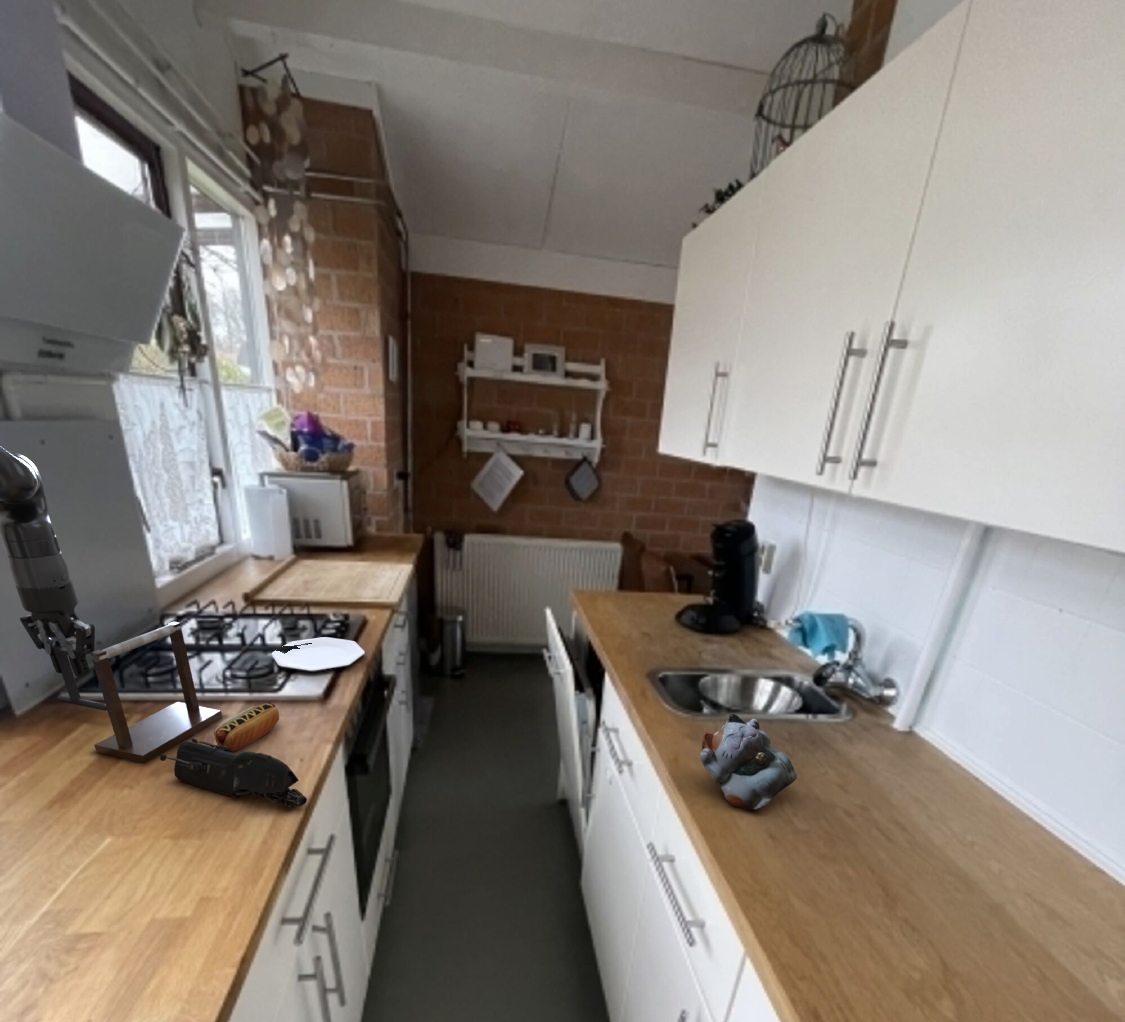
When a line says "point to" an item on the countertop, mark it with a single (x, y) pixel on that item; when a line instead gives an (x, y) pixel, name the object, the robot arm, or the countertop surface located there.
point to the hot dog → (247, 726)
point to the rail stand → (162, 726)
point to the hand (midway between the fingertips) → (73, 673)
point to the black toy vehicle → (235, 772)
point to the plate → (319, 654)
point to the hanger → (72, 682)
